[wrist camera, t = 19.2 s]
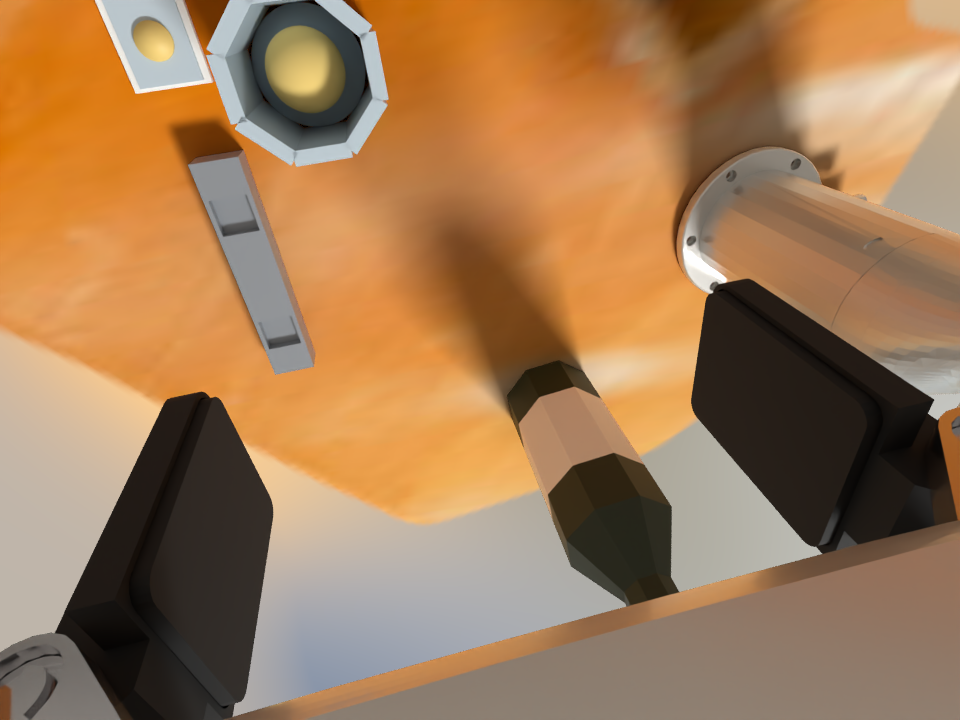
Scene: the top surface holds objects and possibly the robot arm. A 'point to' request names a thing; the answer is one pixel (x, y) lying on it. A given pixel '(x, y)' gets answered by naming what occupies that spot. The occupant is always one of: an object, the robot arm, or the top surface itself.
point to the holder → (254, 257)
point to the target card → (156, 43)
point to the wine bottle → (594, 484)
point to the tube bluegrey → (278, 120)
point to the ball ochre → (305, 69)
